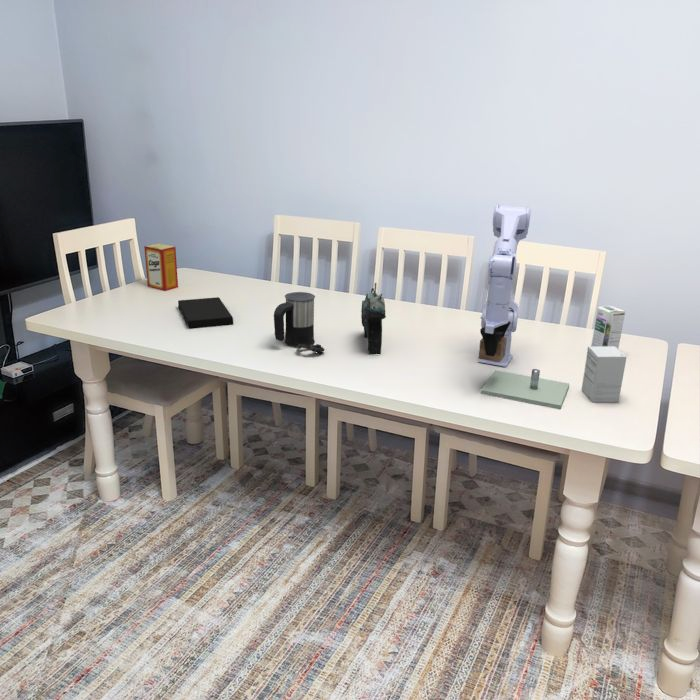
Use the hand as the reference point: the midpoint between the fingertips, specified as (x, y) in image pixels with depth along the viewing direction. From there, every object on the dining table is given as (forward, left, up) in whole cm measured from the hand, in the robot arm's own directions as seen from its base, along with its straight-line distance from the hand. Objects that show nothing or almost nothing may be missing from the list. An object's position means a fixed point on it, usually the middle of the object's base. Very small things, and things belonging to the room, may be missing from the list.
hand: (493, 351), depth 180 cm
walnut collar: (0, 0, -2) cm, 2 cm away
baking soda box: (-33, -134, -10) cm, 138 cm away
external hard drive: (-12, -99, -10) cm, 101 cm away
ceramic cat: (-13, -40, -10) cm, 43 cm away
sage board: (-1, +9, -9) cm, 13 cm away
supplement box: (-6, +27, -10) cm, 30 cm away
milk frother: (-2, -56, -10) cm, 57 cm away
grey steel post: (-1, +11, -9) cm, 15 cm away
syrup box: (-38, +25, -10) cm, 46 cm away
